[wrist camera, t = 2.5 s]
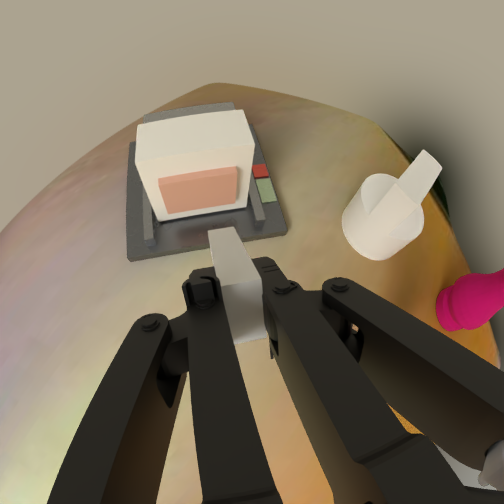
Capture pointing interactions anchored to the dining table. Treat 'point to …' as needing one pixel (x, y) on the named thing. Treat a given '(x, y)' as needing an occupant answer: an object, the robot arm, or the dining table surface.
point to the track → (197, 226)
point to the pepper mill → (470, 301)
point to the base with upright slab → (389, 209)
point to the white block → (195, 163)
